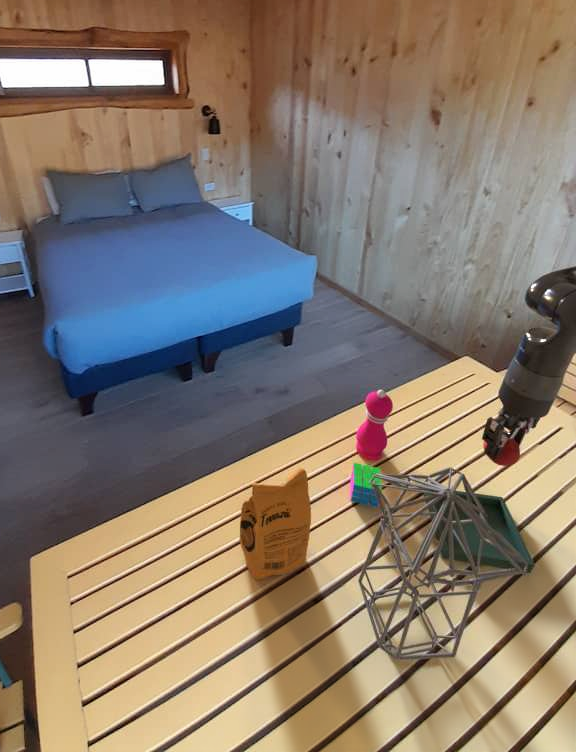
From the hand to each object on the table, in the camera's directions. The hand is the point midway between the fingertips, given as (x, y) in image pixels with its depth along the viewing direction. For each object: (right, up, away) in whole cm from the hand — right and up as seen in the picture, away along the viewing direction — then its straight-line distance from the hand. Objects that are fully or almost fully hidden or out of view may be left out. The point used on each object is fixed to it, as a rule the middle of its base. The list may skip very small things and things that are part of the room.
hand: (501, 449), depth 78 cm
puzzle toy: (-22, -16, +14) cm, 30 cm away
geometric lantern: (-23, -27, -8) cm, 36 cm away
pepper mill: (-17, -11, +24) cm, 31 cm away
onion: (0, -3, +2) cm, 4 cm away
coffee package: (-44, -22, +3) cm, 50 cm away
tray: (-2, -19, +6) cm, 20 cm away
